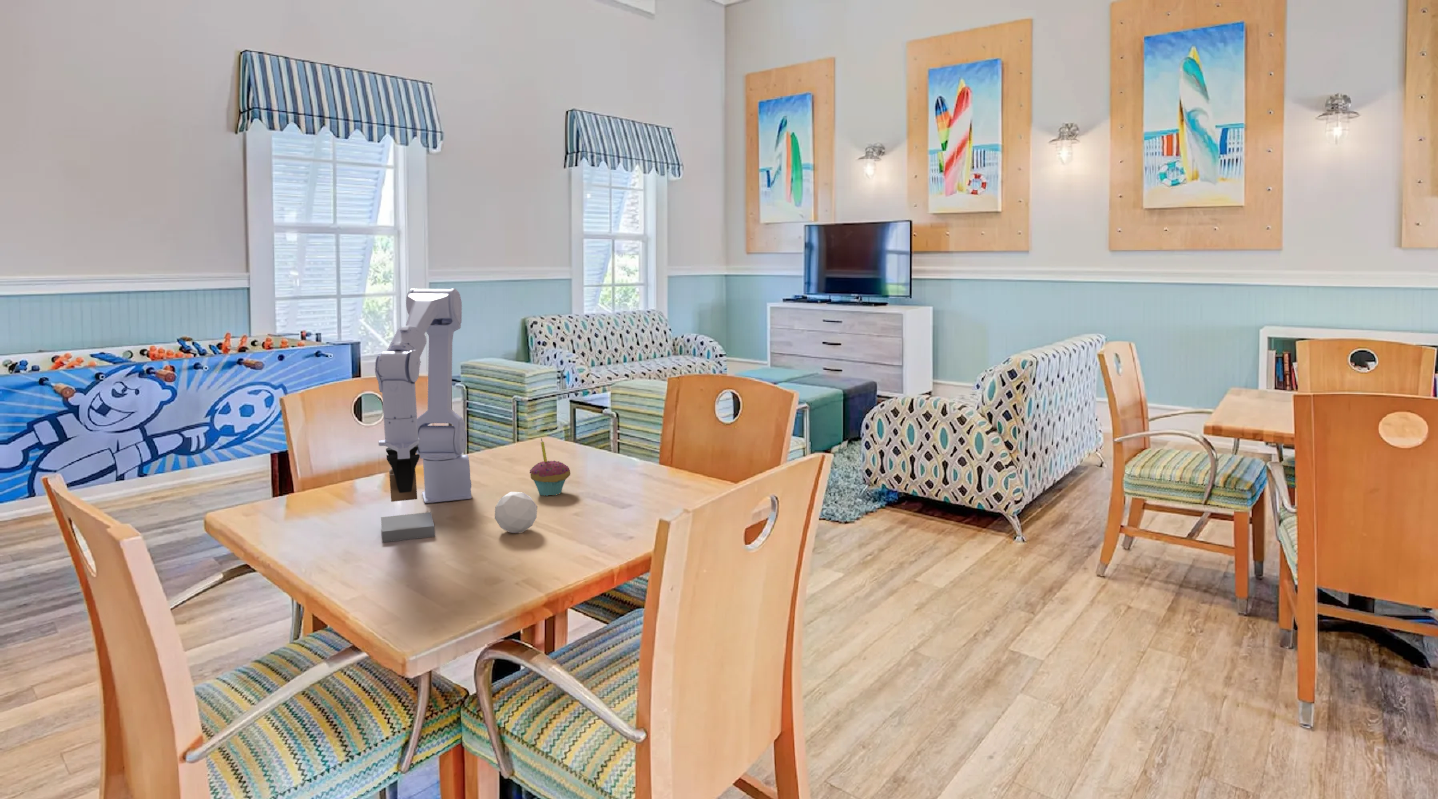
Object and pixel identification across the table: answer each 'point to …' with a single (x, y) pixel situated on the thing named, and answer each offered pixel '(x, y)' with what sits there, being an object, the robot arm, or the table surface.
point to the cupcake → (549, 475)
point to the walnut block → (395, 492)
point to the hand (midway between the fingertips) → (404, 488)
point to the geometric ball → (515, 512)
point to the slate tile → (407, 527)
